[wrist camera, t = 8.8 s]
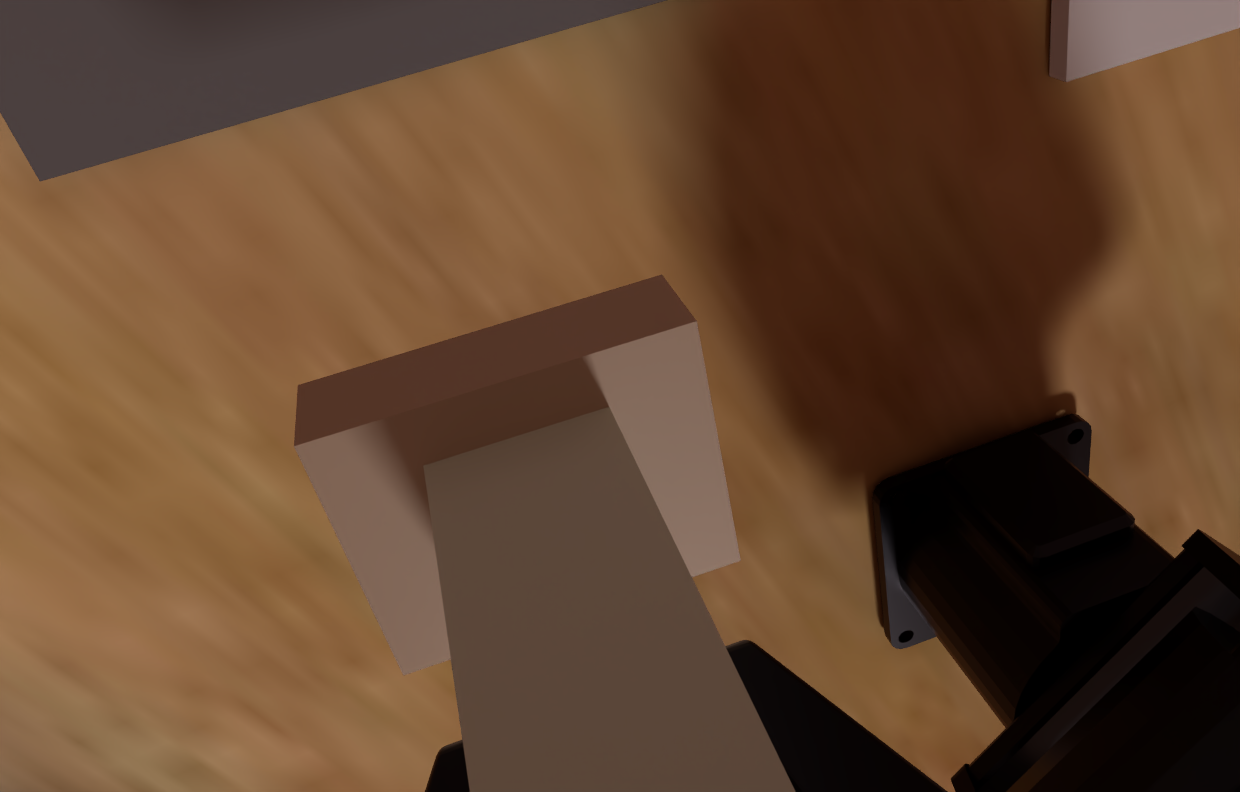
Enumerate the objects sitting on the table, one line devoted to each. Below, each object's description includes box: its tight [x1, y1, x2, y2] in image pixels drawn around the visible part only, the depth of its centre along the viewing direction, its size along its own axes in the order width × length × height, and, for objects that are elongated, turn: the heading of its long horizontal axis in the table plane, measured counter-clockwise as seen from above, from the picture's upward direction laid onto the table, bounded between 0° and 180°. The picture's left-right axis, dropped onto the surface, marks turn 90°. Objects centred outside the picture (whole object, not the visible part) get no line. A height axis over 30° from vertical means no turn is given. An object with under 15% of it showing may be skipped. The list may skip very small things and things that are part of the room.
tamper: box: [294, 275, 795, 792], centre depth 10 cm, size 4×5×10 cm
